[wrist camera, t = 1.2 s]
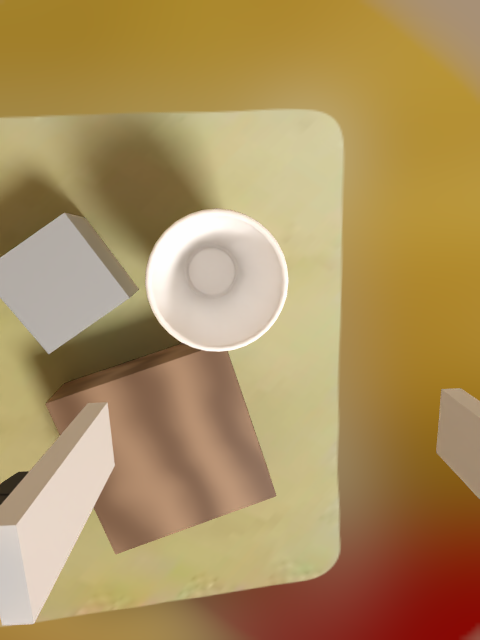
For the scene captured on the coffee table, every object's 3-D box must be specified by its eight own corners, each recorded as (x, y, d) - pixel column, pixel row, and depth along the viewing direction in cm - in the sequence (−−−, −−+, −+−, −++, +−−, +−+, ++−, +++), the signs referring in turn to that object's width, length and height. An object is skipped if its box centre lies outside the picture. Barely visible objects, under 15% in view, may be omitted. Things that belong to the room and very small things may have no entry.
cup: (262, 320, 39) (287, 349, 29) (161, 323, 38) (148, 355, 28) (262, 218, 37) (290, 208, 27) (156, 218, 36) (140, 208, 26)
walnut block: (124, 518, 42) (115, 554, 37) (64, 383, 38) (45, 403, 33) (267, 467, 42) (276, 496, 38) (220, 330, 39) (224, 342, 34)
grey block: (71, 337, 38) (48, 354, 32) (13, 267, 36) (-21, 272, 30) (139, 289, 38) (129, 297, 32) (85, 217, 36) (64, 212, 30)
